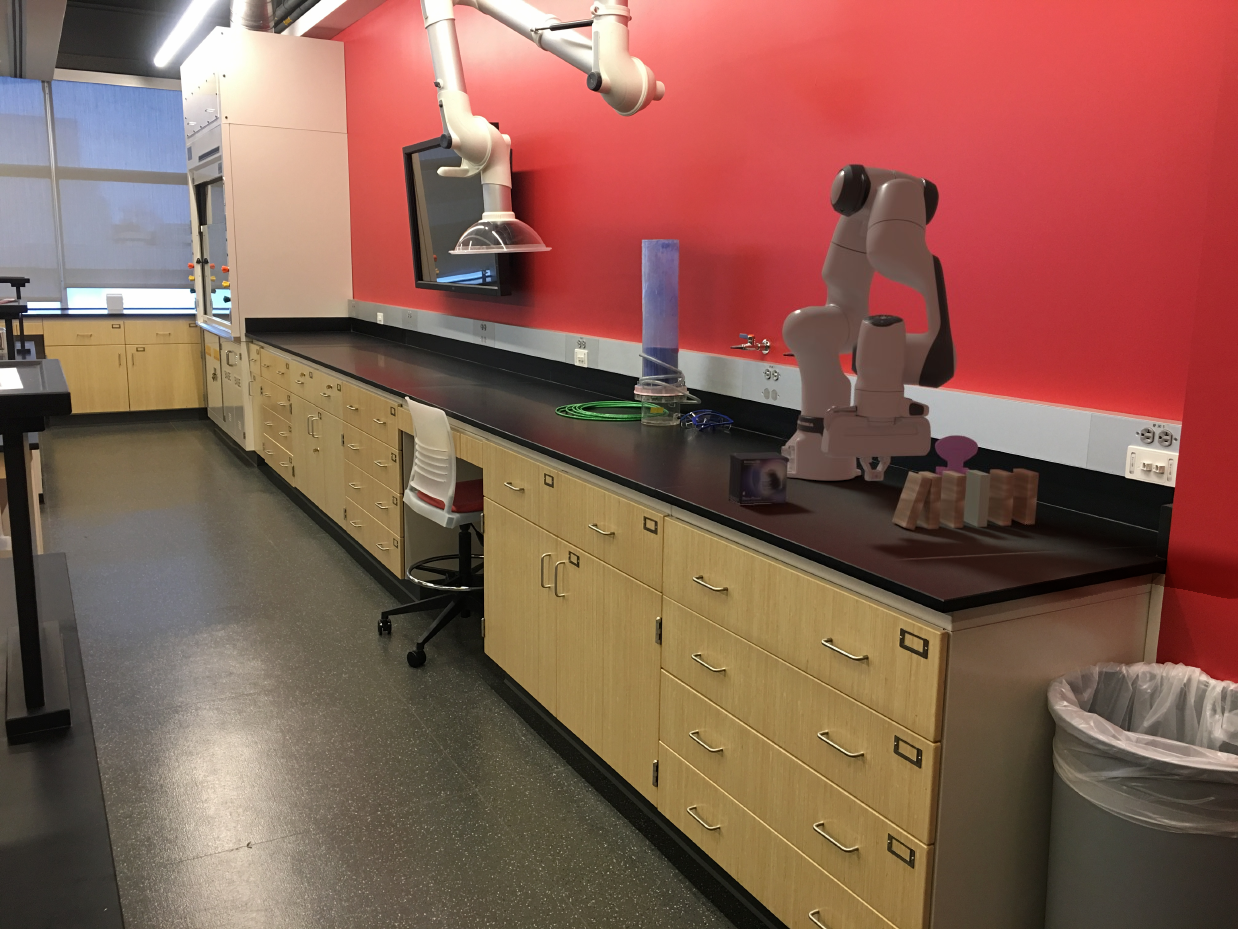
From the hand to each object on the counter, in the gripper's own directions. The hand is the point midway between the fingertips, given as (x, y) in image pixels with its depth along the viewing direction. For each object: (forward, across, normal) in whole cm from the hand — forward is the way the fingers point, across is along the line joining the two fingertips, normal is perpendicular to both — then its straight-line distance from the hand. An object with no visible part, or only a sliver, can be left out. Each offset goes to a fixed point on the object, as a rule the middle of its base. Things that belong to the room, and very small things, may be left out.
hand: (873, 480), depth 182 cm
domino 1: (+9, +6, 0) cm, 11 cm away
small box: (+10, -14, +24) cm, 29 cm away
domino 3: (+9, +16, 0) cm, 19 cm away
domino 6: (+9, +31, 0) cm, 33 cm away
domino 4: (+9, +21, 0) cm, 23 cm away
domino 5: (+9, +26, 0) cm, 28 cm away
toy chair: (+9, +26, +16) cm, 32 cm away
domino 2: (+9, +11, 0) cm, 14 cm away
